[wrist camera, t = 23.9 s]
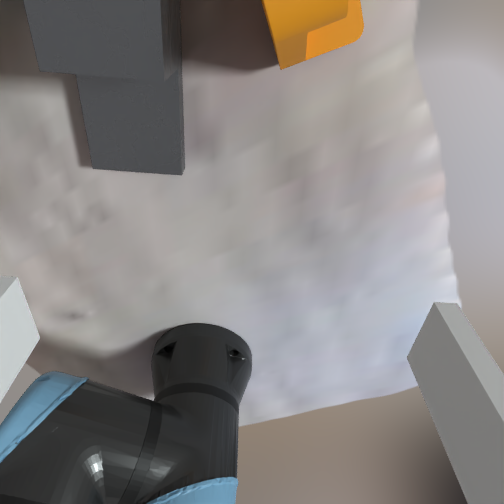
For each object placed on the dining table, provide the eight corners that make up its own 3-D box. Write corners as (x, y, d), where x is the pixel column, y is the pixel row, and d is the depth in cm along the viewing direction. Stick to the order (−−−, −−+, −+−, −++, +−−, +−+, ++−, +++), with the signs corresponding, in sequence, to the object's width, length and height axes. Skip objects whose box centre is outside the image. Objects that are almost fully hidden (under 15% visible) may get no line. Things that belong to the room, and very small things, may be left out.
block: (184, 167, 39) (171, 202, 33) (99, 161, 39) (68, 195, 32) (178, -66, 28) (155, -82, 22) (59, -77, 28) (0, -98, 22)
